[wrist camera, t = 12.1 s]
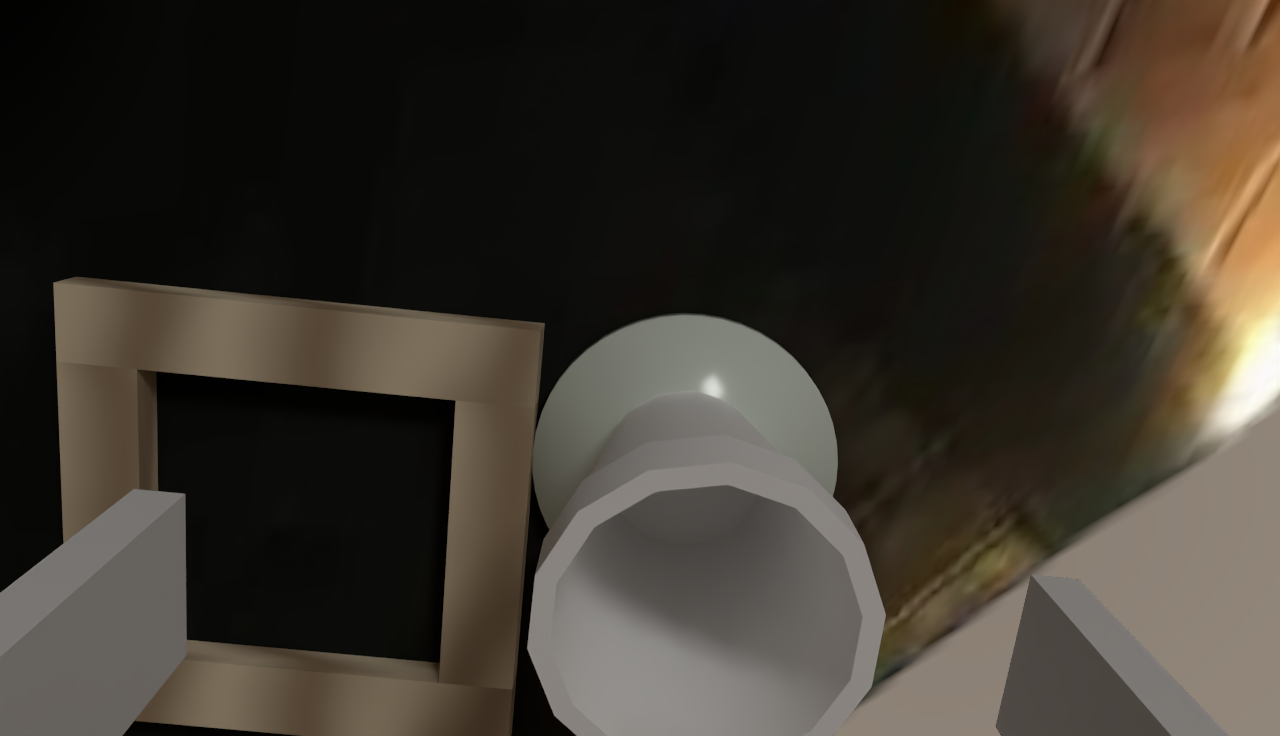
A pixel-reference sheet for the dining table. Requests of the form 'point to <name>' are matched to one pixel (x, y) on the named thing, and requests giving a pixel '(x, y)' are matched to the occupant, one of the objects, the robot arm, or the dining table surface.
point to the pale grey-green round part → (677, 362)
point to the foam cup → (702, 587)
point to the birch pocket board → (340, 359)
